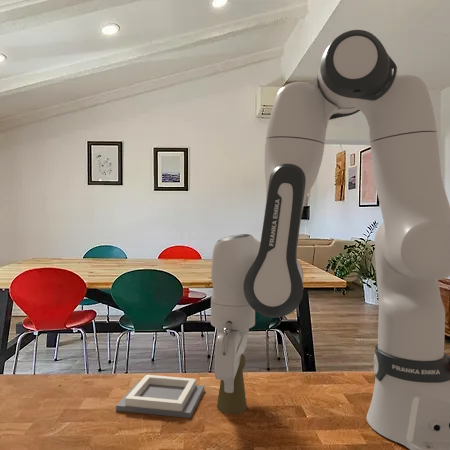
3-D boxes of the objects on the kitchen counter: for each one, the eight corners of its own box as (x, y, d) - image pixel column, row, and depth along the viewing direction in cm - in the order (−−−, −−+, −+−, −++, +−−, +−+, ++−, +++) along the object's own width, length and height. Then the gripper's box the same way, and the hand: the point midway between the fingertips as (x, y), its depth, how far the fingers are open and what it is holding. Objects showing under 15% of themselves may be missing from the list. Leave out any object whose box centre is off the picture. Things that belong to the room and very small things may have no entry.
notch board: (204, 390, 88) (204, 378, 88) (190, 418, 76) (190, 405, 76) (139, 384, 90) (139, 373, 90) (115, 410, 79) (115, 398, 78)
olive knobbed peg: (244, 415, 77) (245, 359, 77) (213, 412, 78) (214, 356, 78) (248, 401, 83) (249, 348, 83) (220, 398, 84) (220, 346, 84)
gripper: (241, 332, 69) (240, 410, 70) (253, 304, 89) (252, 365, 90) (206, 329, 70) (205, 407, 71) (225, 303, 90) (225, 363, 91)
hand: (232, 383), depth 81 cm, fingers open, 5 cm apart
